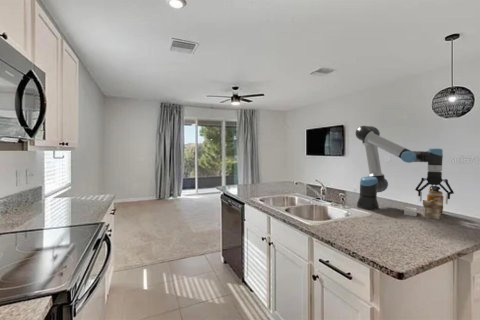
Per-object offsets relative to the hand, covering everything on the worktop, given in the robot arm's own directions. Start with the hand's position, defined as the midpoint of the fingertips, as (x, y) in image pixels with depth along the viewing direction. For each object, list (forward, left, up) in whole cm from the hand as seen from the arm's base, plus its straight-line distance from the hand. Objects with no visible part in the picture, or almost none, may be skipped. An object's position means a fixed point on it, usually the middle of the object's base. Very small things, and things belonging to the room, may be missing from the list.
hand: (433, 202), depth 162 cm
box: (0, 0, -10) cm, 10 cm away
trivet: (-12, 0, -10) cm, 16 cm away
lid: (0, 0, -3) cm, 3 cm away
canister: (+1, +13, -10) cm, 17 cm away
